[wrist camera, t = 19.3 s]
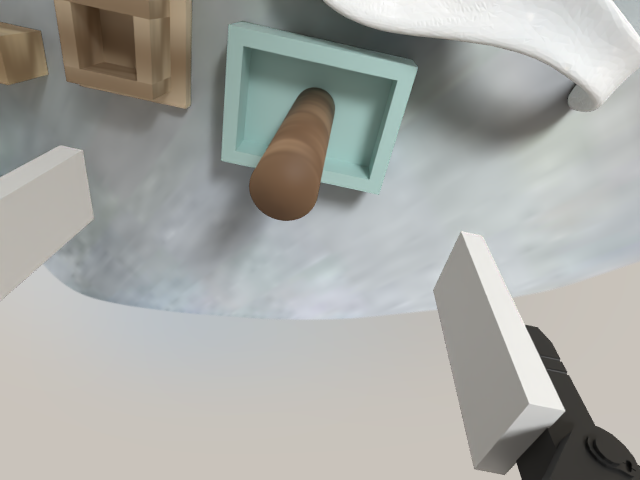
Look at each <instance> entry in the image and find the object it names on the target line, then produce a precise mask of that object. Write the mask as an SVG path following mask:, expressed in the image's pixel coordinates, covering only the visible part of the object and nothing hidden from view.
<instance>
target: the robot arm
mask: <svg viewBox="0 0 640 480" xmlns="http://www.w3.org/2000/svg"><path fill="white" fill-rule="evenodd" d="M93 219H94V216H93V209H92V203H91V197H90V191H89V185H88V178H87V172H86V166H85V160H84V153H83V150H81V149H76V148H71V147H67V146H62V145H60V146H58V147H56V148H54V149H52V150H50V151H48V152H46V153H45V154H43V155H41V156H39V157H37V158H35V159H33V160H32V161H30V162H28V163H26V164H24V165H22V166H20V167H18V168H17V169H15V170H13V171H11V172H9V173H7V174H5V175H4V176H2V177H0V301H1V300H2V299H3V298H5V297H6V296H7V295H8V294H9V293H10V292H11V291H12V290H14V289H15V288H16V287H17V286H18V285H19V284H21V283H22V282H23V281H24V280H25V279H26V278H27V277H29V275H31V274H32V273H33V272H34V271H35V270H36V269H37V268H39V267H40V266H41V265H42V264H43V263H44V262H46V261H47V260H48V259H49V258H50V257H51V256H52V255H54V254H55V253H56V252H57V251H58V250H59V249H60V248H62V247H63V246H64V245H65V244H66V243H67V242H68V241H70V240H71V239H72V238H73V237H74V236H75V235H76V234H77V233H79V232H80V231H81V230H82V229H83V228H84V227H85V226H87V225H88V224H89V223H90V222H91V221H92V220H93ZM433 291H434V296H435V300H436V304H437V309H438V313H439V317H440V322H441V326H442V331H443V334H444V339H445V344H446V348H447V352H448V357H449V361H450V365H451V370H452V374H453V379H454V383H455V387H456V392H457V396H458V400H459V405H460V409H461V414H462V418H463V422H464V427H465V431H466V435H467V440H468V444H469V448H470V453H471V457H472V461H473V466H474V469H476V470H482V471H487V472H492V473H497V474H502V475H505V474H506V473H507V472H508V471H509V470H510V469H511V468H512V467H513V466H514V464H515V463H516V462H517V465H518V469H519V472H520V475H521V478H522V480H640V466H639V465H637V463H636V460H635V458H634V457H633V455H632V454H631V453H630V452H629V450H628V449H627V448H626V447H625V446H624V445H623V444H622V443H621V442H620V441H619V440H618V439H617V438H616V437H614V436H613V435H612V434H610V433H609V432H607V431H605V430H604V429H602V428H600V427H597V426H595V424H594V422H593V420H592V418H591V416H590V415H589V413H588V411H587V409H586V407H585V405H584V403H583V401H582V399H581V397H580V396H579V394H578V392H577V390H576V388H575V386H574V384H573V382H572V380H571V378H570V377H569V375H567V371H566V369H565V367H564V365H563V363H562V362H560V357H559V355H558V354H557V352H556V350H555V348H554V346H553V344H552V343H551V341H550V340H549V339H548V338H547V337H546V336H545V335H544V334H543V333H542V332H541V331H540V329H538V327H533V326H528V325H525V324H524V322H523V320H522V318H521V316H520V314H519V312H518V310H517V308H516V305H515V303H514V301H513V299H512V297H511V295H510V293H509V291H508V289H507V286H506V284H505V282H504V280H503V278H502V276H501V274H500V272H499V269H498V267H497V265H496V263H495V261H494V259H493V257H492V255H491V253H490V250H489V248H488V246H487V244H486V242H485V240H484V238H483V236H481V235H477V234H472V233H467V232H463V231H461V232H460V235H459V237H458V239H457V241H456V243H455V245H454V247H453V249H452V252H451V254H450V256H449V258H448V260H447V262H446V264H445V266H444V268H443V271H442V273H441V275H440V277H439V279H438V281H437V283H436V285H435V287H434V290H433Z"/></svg>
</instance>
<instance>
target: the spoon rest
mask: <svg viewBox="0 0 640 480" xmlns="http://www.w3.org/2000/svg"><path fill="white" fill-rule="evenodd" d="M323 1H324V2H325V3H326V4H327V5H328V6H329V7H331V8H332V9H333V10H335V11H336V12H338V13H339V14H341V15H343V16H344V17H346V18H348V19H350V20H352V21H355V22H357V23H360V24H362V25H365V26H367V27H371V28H374V29H378V30H381V31H386V32H390V33H397V34H404V35H412V36H419V37H429V38H438V39H447V40H456V41H464V42H470V43H477V44H484V45H491V46H495V47H499V48H503V49H507V50H510V51H514V52H518V53H521V54H524V55H527V56H530V57H532V58H535V59H537V60H539V61H541V62H543V63H545V64H547V65H549V66H551V67H552V68H554V69H555V70H557V71H558V72H560V73H561V74H563V75H565V76H566V77H567V78H569V79H570V80H571V81H573V82H574V83H575V84H577V85H576V86H575V87H574V89H573V90H572V91H571V93H570V95H569V96H568V105H569V106H570V108H571V109H573V110H576V111H581V112H591V111H594V110H596V109H598V108H599V107H600V106H601V105H602V104H603V103H604V102H605V101H606V100H607V99H608V98H609V96H610V95H611V94H612V93H613V92H614V91H615V90H616V89H617V88H618V87H619V86H620V85H621V84H622V83H623V82H624V81H625V80H626V79H627V78H628V77H629V76H630V75H631V74H633V73H634V72H635V71H636V70H637V69H638V68H640V37H639V35H638V34H637V33H636V31H635V30H634V28H633V27H632V26H631V24H630V23H629V22H628V21H627V19H626V18H625V16H624V15H623V14H622V12H621V11H620V10H619V9H618V7H617V6H616V5H615V4H614V2H613V1H612V0H323Z"/></svg>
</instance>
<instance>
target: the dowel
mask: <svg viewBox="0 0 640 480" xmlns="http://www.w3.org/2000/svg"><path fill="white" fill-rule="evenodd" d="M334 114H335V103H334V100H333V98H332V97H331V95H330V94H329V93H328V92H327V91H325V90H324V89H321V88H317V87H311V88H307V89H305V90H304V91H302V92H301V93H300V94H299V95H298V97H297V99H296V100H295V102H294V104H293V105H292V107H291V109H290V110H289V112H288V114H287V115H286V117H285V119H284V121H283V122H282V124H281V126H280V127H279V129H278V131H277V132H276V134H275V136H274V137H273V139H272V141H271V143H270V144H269V146H268V148H267V149H266V151H265V153H264V154H263V156H262V158H261V160H260V161H259V163H258V165H257V166H256V168H255V170H254V171H253V173H252V175H251V178H250V183H249V190H250V195H251V197H252V200H253V202H254V203H255V205H256V206H257V207H258V208H259V210H261V211H262V212H263V213H264V214H266V215H267V216H269V217H271V218H274V219H277V220H283V221H290V220H296V219H299V218H301V217H303V216H305V215H306V214H308V213H309V212H310V211H311V210H312V208H313V207H314V205H315V203H316V200H317V197H318V192H319V187H320V182H321V177H322V172H323V168H324V163H325V158H326V153H327V148H328V143H329V139H330V134H331V129H332V124H333V119H334Z"/></svg>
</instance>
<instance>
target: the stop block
mask: <svg viewBox="0 0 640 480" xmlns="http://www.w3.org/2000/svg"><path fill="white" fill-rule="evenodd" d="M45 75H48V69H47V64H46V58H45V52H44V47H43V41H42V36H41V31H39V30H34V29H30V28H25V27H21V26H16V25H12V24H7V23H3V22H0V83H2V84H6V85H11V84H15V83H18V82H22V81H26V80H30V79H34V78H37V77H41V76H45Z"/></svg>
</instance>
